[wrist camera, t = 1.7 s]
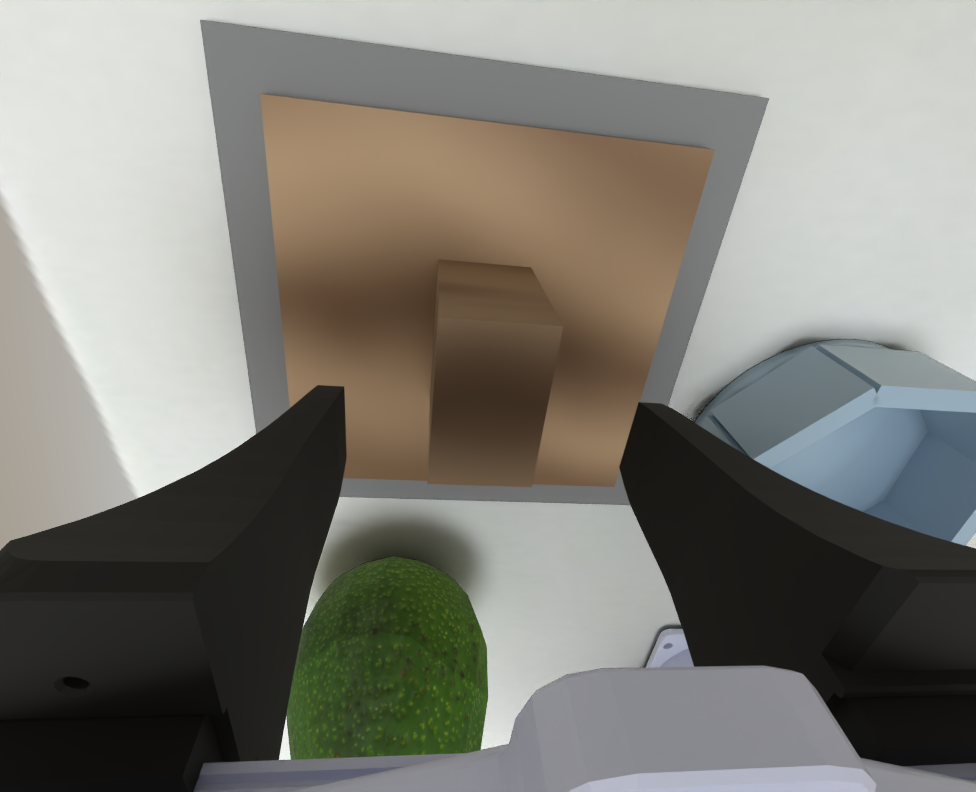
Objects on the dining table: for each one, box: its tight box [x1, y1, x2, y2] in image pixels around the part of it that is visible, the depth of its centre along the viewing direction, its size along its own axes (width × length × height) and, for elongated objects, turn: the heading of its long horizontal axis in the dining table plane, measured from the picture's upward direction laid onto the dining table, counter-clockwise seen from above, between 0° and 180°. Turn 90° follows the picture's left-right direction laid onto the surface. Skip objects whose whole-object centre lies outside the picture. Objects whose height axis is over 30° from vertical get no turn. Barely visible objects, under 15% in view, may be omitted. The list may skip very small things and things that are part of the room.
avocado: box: [286, 556, 488, 760], centre depth 20 cm, size 8×8×12 cm
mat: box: [200, 20, 769, 505], centre depth 18 cm, size 16×16×1 cm
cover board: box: [260, 94, 715, 487], centre depth 16 cm, size 13×13×6 cm
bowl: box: [695, 339, 976, 546], centre depth 21 cm, size 11×11×4 cm
